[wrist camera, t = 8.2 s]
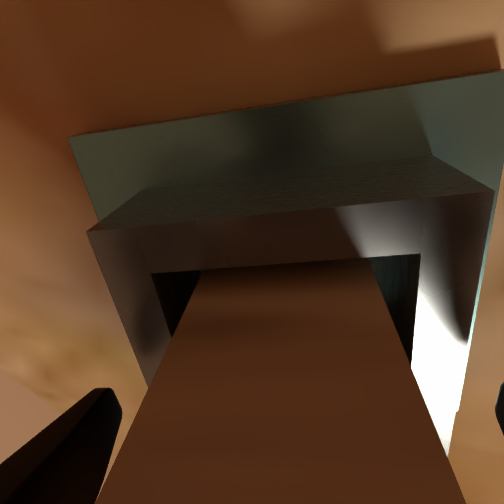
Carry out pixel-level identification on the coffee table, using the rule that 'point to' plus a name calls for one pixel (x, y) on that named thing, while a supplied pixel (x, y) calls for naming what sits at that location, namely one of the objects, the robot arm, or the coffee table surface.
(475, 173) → the socket
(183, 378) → the peg
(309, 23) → the coffee table surface
